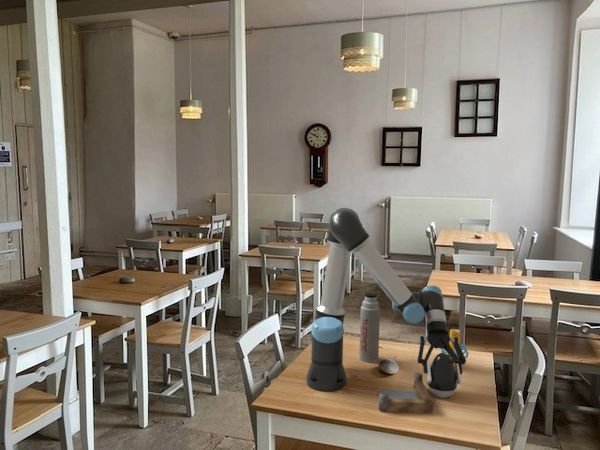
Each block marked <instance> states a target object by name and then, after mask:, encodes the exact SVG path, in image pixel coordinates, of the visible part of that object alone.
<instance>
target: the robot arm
mask: <svg viewBox="0 0 600 450" xmlns="http://www.w3.org/2000/svg"><path fill="white" fill-rule="evenodd" d="M327 231H328V232H327V236H326V237H327V239H326V241H327V242H328V244H329V251H328V257H327V263H326V269H325V274H324V280H323V281H324V282H323V288H322V294H321V301H320V304H318V305H317V306H316V307H315V314H314V319H313V321H312V324H311V330H310V331H311V332H310V333H311V359H310V360H311V362H310V364H309V367H308V371H307V374H306V377H305V381H306V382H305V383H306V384H307V386H308V387H310V388H312V389H315V390H318V391H323V392H324V391H325V392H333V391H339V390H342V389H344V388H345V387H346V386H347V384H348V382H347V381H348V377H347V373H346V369H345V367H344V363H343V360H344V359H343V355H344V332H345V330H344V322H345V317H346V311H345V309H344V308H343V304H344V298H345V292H346V285H347V280H348V275H349V267H350V262H351V261H350V260H351V256H352V254H353V255H354V256H355V258H356V259H357V260H358V261H359V263H360V264H361V265H362V266H363V267H364V269H365V270H366V271H367V272H368V274H369V275H370V276H371V277H372V279H373V280H374V281H375V282H376V283H377V285H378V286H379V287H380V289H381V290H382V291H383V292H384V293H385V295H386V296H387V297H388V299H390V301H391V305H392V306H391V307H392V310H393V311H394V312H398V313H401V315H402V317H403V319H404V320H405V321H406V322H407V323H409V324H412V325H416V324H419V323H421V322H422V321H423V320H424V318H425V325H426V326H425V327H426V334H427V336H424V335H421V336H419V337H420V338H419V350H418V356H417V364H420V365H422V366H423V367H422V369H423V373H424V374H426V378H427V379H428V383H431V381H432V380H431V372H430V367H431V363H430V362H428V361H429V358H430V356H431V354H432V352H433V349H436V350H437V349H440V350H441V349H443V348H444V349H445V350H444V351H447V353H448V354H449V355H450V357H451V358H452V359H458V362H455V364H456V365H455V371H456V377H457V385H461V383H462V376H461V375H462V374H463V366H462V365H465V364H466V362H467V358H465V354H463V352H464V351H463V350H461V348H462V347H461V348H460V345H459V343H458V338H457V337H455V338H450V334H449V330H448V324H447V317H446V310H445V304H444V297H443V293H442V290H441V288H440V287H439V286H437V285H429V286H425V287H423V288H422V290H421V291H411V290H410V289H409V288H408V287H407V285H406V284H405V283H404V282H403V280H402V279H401V278H400V276H398V274H397V273H396V272H395V270H394V269H393V268H392V266H391V265H390V264H389V262H387V260H386V259H385V258H384V257H383V255H382V254H381V253H380V252H379V250H378V249H377V248H376V247H375V245H374V243H372V242H371V239H370V235H369V233H368V232H367V230H366V229H365V228H364V226H363V224H362V222H361V220H360V217H359V214H358V213H357V212H356V211H355V210H353V209H351V208H348V207H340V208H338V209H336V210H334V212H332V214H331V215H330V217H329V225H328V230H327ZM449 341H451V342H452V344H453V345H454V348H455V350H456V353H457V355H458V356H457V355H456V354H455V352H454V351H453V350H452V348H451V347H450V345H449ZM426 342H428V343H429V344H430V345H429V348H428V351H427V352H426V355H425V357H424V359H423V353H424V348H425V344H426ZM447 353H446V354H447ZM458 357H459V358H458ZM427 379H426V380H427Z"/></svg>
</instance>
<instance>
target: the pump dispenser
mask: <svg viewBox="0 0 600 450" xmlns="http://www.w3.org/2000/svg"><path fill="white" fill-rule="evenodd" d="M455 362H458V359H451V358H450V356H449V355H447V353H441V352H440V353H438V354H436V356H435V357H434V358H433V360H432V363H430V372H431V380H432V381H431V383H428V379H426V383H427V387H428V389H429V391H430V393H431V394H432V395H434V396H436V397H437V398H440V399H441V398H442V399H445V398H449V397H451V396H453V395H454V393H455V392H456V389H457V388H458V384H457V377H456V371H455V368H454V364H453V363H455Z"/></svg>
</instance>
